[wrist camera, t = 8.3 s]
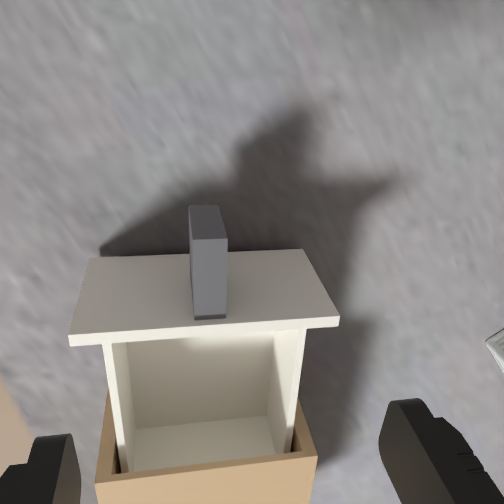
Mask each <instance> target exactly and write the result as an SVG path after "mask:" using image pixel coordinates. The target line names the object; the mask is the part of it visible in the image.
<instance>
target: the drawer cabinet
mask: <svg viewBox="0 0 504 504" xmlns="http://www.w3.org/2000/svg"><path fill="white" fill-rule="evenodd" d="M317 458H318V454H317V451H316V448H315V445H314V442H313V440H312V437H311V434H310V431H309V428H308V425H307V422H306V419H305V416H304V413H303V410H302V407H301V404H300V401H299V398H298V397H297V404H296V412H295V419H294V427H293V435H292V442H291V450H290V453H284V454H276V455H268V456H260V457H251V458H243V459H235V460H227V461H219V462H211V463H202V464H194V465H186V466H178V467H170V468H162V469H153V470H145V471H137V472H129V473H122V472H121V466H120V459H119V452H118V446H117V439H116V432H115V426H114V419H113V412H112V406H111V399H110V392H109V386H108V392H107V399H106V406H105V413H104V420H103V427H102V434H101V441H100V448H99V455H98V462H97V469H96V476H95V483H94V484H95V489H96V494H97V499H98V504H309V503H310V497H311V492H312V486H313V481H314V475H315V470H316V464H317Z"/></svg>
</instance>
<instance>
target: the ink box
mask: <svg viewBox="0 0 504 504" xmlns="http://www.w3.org/2000/svg"><path fill="white" fill-rule="evenodd" d="M486 345H487V346H488V348H489V350H490V351H491V353H492V355H493V356H494V358H495V360H496V361H497V363H498V365H499V366H500V368H501V369H502V371H503V373H504V329H503V330H502V331H500V332H499V333H497V334H496V335H494V336H492V337H491V338H489V339H488V340H487V341H486Z"/></svg>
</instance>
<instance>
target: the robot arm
mask: <svg viewBox="0 0 504 504" xmlns="http://www.w3.org/2000/svg"><path fill="white" fill-rule="evenodd" d="M379 452H380V456H381V459H382V462H383V464H384V466H385V469H386V471H387V473H388V475H389V477H390V479H391V482H392V484H393V486H394V488H395V490H396V492H397V494H398V497H399V499H400V501H401V503H402V504H504V497H503V495H502V494H501V492H500V491H499V489H498V488H497V486H496V485H495V483H494V482H493V480H492V479H491V478H490V476H489V475H488V473H487V472H485V471H484V467H483V466H482V464H481V463H480V461H479V460H478V458H477V457H476V456H474V454H473V451H472V449H471V448H470V446H469V445H468V443H467V442H466V440H465V439H464V437H463V436H462V434H461V433H460V432H459V431H458V430H457V429H455V428H454V427H453V426H452V425H451V424H450V423H449V422H447V421H446V420H445V419H444V418H443V417H440V418H434V417H433V415H432V414H431V412H430V410H429V409H428V407H427V406H426V404H425V403H424V402H423V401H422V400H421V399H419V398H414V399H405V400H395V401H391V402H390V403H389V405H388V408H387V411H386V415H385V418H384V422H383V425H382V429H381V432H380V436H379ZM80 496H81V473H80V468H79V464H78V459H77V455H76V451H75V446H74V442H73V438H72V435H71V434H61V435H52V436H42V437H37V438H36V439H35V440H34V442H33V445H32V448H31V452H30V455H29V459H28V462H27V463H26V464H18V465H10V466H9V467H8V468H7V470H6V471H5V472H4V473H3V475H2V476H1V477H0V504H80Z"/></svg>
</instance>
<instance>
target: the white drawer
mask: <svg viewBox="0 0 504 504" xmlns="http://www.w3.org/2000/svg"><path fill="white" fill-rule="evenodd" d="M188 206H189V247H190V254H172V255H149V256H125V257H102V258H90V260H89V263H88V267H87V270H86V274H85V277H84V281H83V284H82V288H81V291H80V295H79V298H78V302H77V305H76V309H75V312H74V316H73V319H72V323H71V326H70V330H69V333H68V338H69V343H70V346H81V345H95V344H102V346H103V352H104V359H105V366H106V372H107V379H108V386H109V392H110V399H111V406H112V412H113V419H114V426H115V432H116V439H117V446H118V452H119V459H120V466H121V472H122V473H129V472H137V471H145V470H153V469H162V468H170V467H178V466H186V465H194V464H202V463H211V462H219V461H227V460H235V459H243V458H251V457H260V456H268V455H276V454H284V453H290V450H291V442H292V435H293V427H294V419H295V412H296V404H297V397H298V389H299V382H300V374H301V367H302V359H303V352H304V344H305V337H306V329H309V328H323V327H336V326H338V325H339V319H340V315H339V313H338V311H337V309H336V308H335V306H334V304H333V302H332V300H331V299H330V297H329V295H328V293H327V292H326V290H325V288H324V286H323V284H322V283H321V281H320V279H319V277H318V275H317V274H316V272H315V270H314V268H313V266H312V265H311V263H310V261H309V259H308V257H307V256H306V254H305V252H304V250H303V249H288V250H265V251H242V252H227V250H228V238H227V234H226V230H225V226H224V223H223V219H222V215H221V211H220V208H219V204H208V205H188Z"/></svg>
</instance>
